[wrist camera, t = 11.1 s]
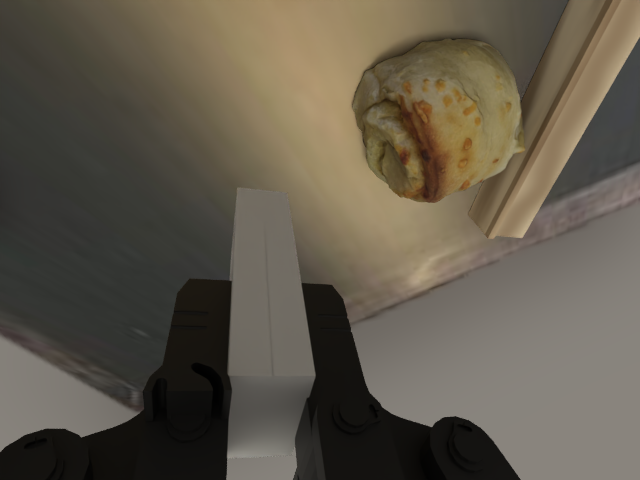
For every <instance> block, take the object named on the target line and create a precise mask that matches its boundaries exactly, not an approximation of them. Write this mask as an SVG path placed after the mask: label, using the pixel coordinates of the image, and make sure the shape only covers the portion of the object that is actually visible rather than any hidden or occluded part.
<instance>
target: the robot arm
mask: <svg viewBox="0 0 640 480" xmlns="http://www.w3.org/2000/svg"><path fill="white" fill-rule="evenodd" d="M143 399H144V410H143V411H141V412H140V413H139V414H138V415H137V416H135V417H134V418H132V419H131V420H129V421H127V422H125V423H123V424H120V425H118V426H116V427H113V428H110V429H107V430H103V431H100V432H97V433H94V434H91V435H88V436H85V437H82V438H81V437H80V436H79V435H78V434H75V433H73V432H71V431H68V430H66V429H44V430H40V431H37V432H34V433H31V434H27V435H25V436H23V437H21V438H20V439H18V440H17V441H15V442H13V443H11V444H10V445H8V446H6V447H5V448H4V449H3V450H2V451H1V452H0V480H226V475H227V458H246V457H266V456H267V457H268V456H288V455H289V456H290V455H292V452H293V449H294V446H295V448H296V458H297V469H296V472H295V475H294V478H293V480H520V478H519V477H518V475H517V474H516V473H515V471H514V470H513V469H512V467H511V466H510V464H509V463H508V461H507V460H506V459H505V457H504V456H503V454H502V453H501V452H500V450H499V449H498V447H497V446H496V445H495V444H494V442H493V441H492V439H491V438H490V437H489V436H488V435H487V434H486V433H485V432H484V431H483V430H482V429H481V428H480V427H478V426H477V425H475V424H473V423H472V422H471V421H469V420H466V419H462V418H459V417H456V416H455V417H444V418H442V419H441V420H439V421H437V422H436V423H435V424H434V425H433V427H429V426H426V425H423V424H419V423H416V422H413V421H409V420H406V419H403V418H400V417H398V416H395V415H393V414H391V413H390V412H388V411H387V410H385V409H384V408H382V406H381V404H380V403H379V402H378V401H377V400H376V399H375V398H374V397H373V396H372V395H371V394H370V393H369V391H368V388H367V386H366V383H365V380H364V376H363V372H362V369H361V365H360V361H359V357H358V353H357V350H356V346H355V342H354V338H353V335H352V332H351V327H350V323H349V320H348V319H347V312H346V308H345V305H344V301H343V298H342V297H341V296H340V295H339V293H338V292H337V291H336V290H335V288H334V287H333V286H332V285H326V284H307V283H301V278H300V272H299V265H298V259H297V253H296V246H295V240H294V233H293V227H292V220H291V214H290V207H289V201H288V194H287V193H286V192H276V191H267V190H257V189H247V188H238V187H237V198H236V209H235V220H234V231H233V242H232V253H231V267H230V281H226V280H207V279H189V280H188V281H187V282H186V284H185V285H184V286H183V287H182V288H181V289H180V291H179V292H178V293H177V298H176V303H175V307H174V314H173V317H172V322H171V329H170V332H169V337H168V341H167V346H166V351H165V356H164V361H163V365H162V366H161V367H160V368H159V369H158V370H157V371H156V372H154V373H153V374H152V375H151V376H150V377H149V379H148V382H147V384H146V386H145V388H144V390H143Z"/></svg>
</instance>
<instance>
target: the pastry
mask: <svg viewBox="0 0 640 480" xmlns="http://www.w3.org/2000/svg"><path fill="white" fill-rule="evenodd" d="M352 107H353V111H354V112H355V114H356V119H357V125H358V128H359V129H360V130H361V131H362V133H363V137H364V139H363V142H364V144H365V146H366V148H367V150H366V151H367V154H366V158H367V163H368V166H369V168H370V169H371V170H372V171H373V172H374V174H375V175H376V176H377V177H379V178H380V179H381V180H383V181H384V182H386V183H387V184H388V185H389V188H390V189H391V190H392V191H393V192H394V193H396V194H397V195H398V196H399V197H405V198H409V199H411V200H414V201H417V202H428V203H430V202H431V203H436V202H438V201H440V200H441V199H442V198H444V197H445V196H447V195H450V194H451V193H454V192H457V191H463V190H465V189H467V188H469V187H470V186H472V185H475V184H477V183H479V182H482V181H483V180H485V179H487V178H489V177H492V176H494V175H496V174H498V173H500V172H501V171H503V170H504V169H505V168H506V166H507V164H508V161H509V160H510V158H511V157H512V156H513V154H514V153H522V152H523V151H525V145H524V143H525V138H524V131H523V128H522V121H523V120H522V113H521V104H520V96H519V93H518V90H517V86H516V81H515V77H514V74H513V73H512V71H511V69H510V68H509V66H508V64H507V62H506V61H505V60H504V58H503V57H502V55H501V54H500V53H499V51H497V50H496V49H494V48H493V47H492V46H490V45H489V44H487V43H484V42H482V41H477V40H471V39H456V40H451V39H450V38H449V39H444V40H442V41H433V42H425V41H423V42H421V43H420V44H419V45H418V46H416V47H415V48H413V49H412V50H410V51H409V52H407V53H406V54H404V55H402V56H398V57H393V58H390V59H387V60H385V61H383V62H381V63H379V64H377V65H376V66H375V67H374V68H373V69H370V70H368V71H366V72H364V76H363V78H362V81H361V82H360V83H359V85H358V87H357V91H356V93H355V99H354V103H353V106H352Z"/></svg>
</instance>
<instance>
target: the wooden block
mask: <svg viewBox="0 0 640 480" xmlns="http://www.w3.org/2000/svg"><path fill="white" fill-rule="evenodd" d="M639 37H640V0H569V1H568V4H567V6H566V8H565V10H564V12H563V14H562V16H561V18H560V20H559V23H558V25H557V27H556V29H555V31H554V33H553V35H552V37H551V40H550V42H549V44H548V46H547V48H546V50H545V52H544V54H543V56H542V59H541V61H540V63H539V65H538V67H537V69H536V71H535V73H534V76H533V78H532V80H531V82H530V84H529V86H528V88H527V90H526V93H525V95H524V97H523V99H522V101H521V103H520V104H521V113H522V120H523V121H522V128H523V131H524V138H525V143H524V145H525V151H523V152H522V153H514V154H513V156H512V157H511V158H510V160H509V161H508V164H507V166H506V168H505V169H504V170H503V171H501V172H500V173H498V174H496V175H494V176H492V177H489V178H487V179H485V180H484V182H483V184H482V186H481V188H480V190H479V192H478V194H477V196H476V198H475V201H474V203H473V205H472V207H471V209H470V211H469V213H468V215H469V216H470V217H471V218H472V220H473V221H474V222H475V223H476V224H477V226H478V227H479V228H480V229H481V231H482V232H483V233H484V234H485V235H486V237H487V238H489V239H494V237H495V236H506V237H517V238H522V237H523V236H524V234H525V232H526V231H527V229H528V227H529V225H530V224H531V222H532V220H533V219H534V217H535V215H536V213H537V212H538V210H539V208H540V207H541V205H542V203H543V201H544V200H545V198H546V196H547V195H548V193H549V191H550V189H551V188H552V186H553V184H554V183H555V181H556V179H557V177H558V176H559V174H560V172H561V171H562V169H563V167H564V165H565V164H566V162H567V160H568V159H569V157H570V155H571V153H572V152H573V150H574V148H575V147H576V145H577V143H578V141H579V140H580V138H581V136H582V135H583V133H584V131H585V129H586V128H587V126H588V124H589V123H590V121H591V119H592V117H593V116H594V114H595V112H596V111H597V109H598V107H599V105H600V104H601V102H602V100H603V99H604V97H605V95H606V93H607V92H608V90H609V88H610V87H611V85H612V83H613V81H614V80H615V78H616V76H617V75H618V73H619V71H620V69H621V68H622V66H623V64H624V63H625V61H626V59H627V57H628V56H629V54H630V52H631V51H632V49H633V47H634V45H635V44H636V42H637V40H638V39H639Z"/></svg>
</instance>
